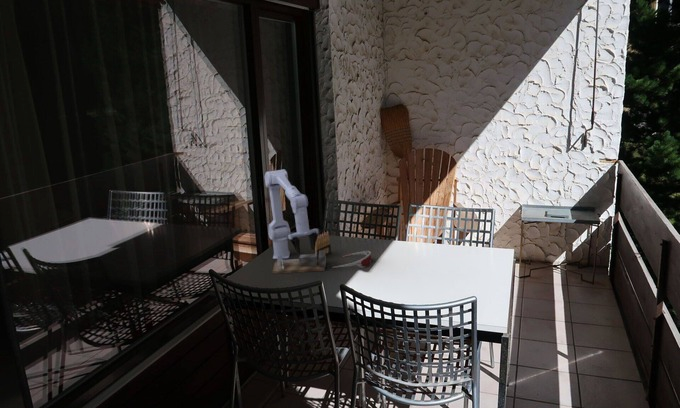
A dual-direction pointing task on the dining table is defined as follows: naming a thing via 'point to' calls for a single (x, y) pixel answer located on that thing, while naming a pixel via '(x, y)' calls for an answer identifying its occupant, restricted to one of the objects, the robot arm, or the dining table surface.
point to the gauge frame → (304, 264)
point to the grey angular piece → (284, 261)
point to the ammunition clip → (323, 244)
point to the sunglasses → (359, 263)
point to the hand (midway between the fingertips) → (305, 251)
